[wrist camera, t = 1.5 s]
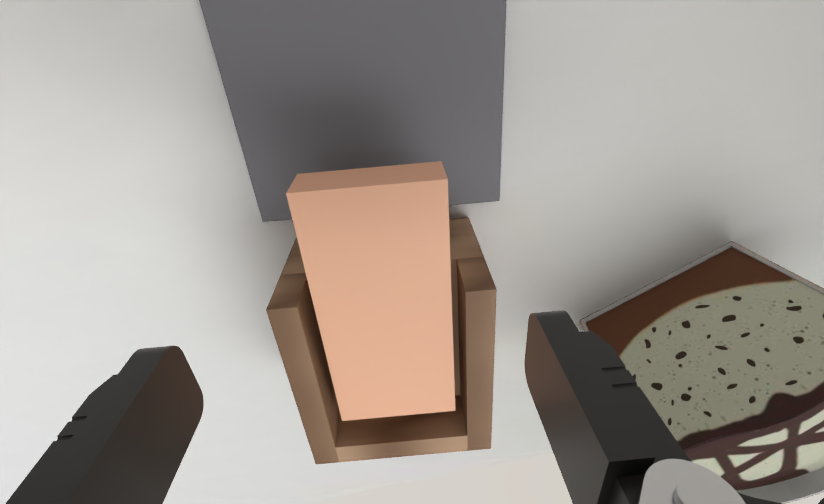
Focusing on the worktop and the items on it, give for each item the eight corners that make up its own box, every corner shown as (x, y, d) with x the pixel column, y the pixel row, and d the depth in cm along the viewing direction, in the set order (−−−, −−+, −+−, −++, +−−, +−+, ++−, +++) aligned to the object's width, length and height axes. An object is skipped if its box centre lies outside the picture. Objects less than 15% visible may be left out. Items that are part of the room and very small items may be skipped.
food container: (595, 385, 29) (684, 546, 20) (557, 331, 26) (641, 490, 17) (780, 298, 25) (981, 444, 17) (758, 227, 23) (984, 357, 14)
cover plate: (441, 161, 16) (447, 178, 14) (450, 379, 22) (455, 410, 20) (297, 173, 16) (286, 193, 14) (345, 388, 22) (342, 420, 20)
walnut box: (468, 217, 22) (496, 289, 16) (469, 356, 27) (490, 448, 21) (298, 232, 22) (266, 309, 16) (331, 369, 27) (315, 464, 21)
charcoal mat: (508, -142, 15) (511, -146, 14) (497, 197, 21) (499, 200, 21) (171, -113, 15) (166, -116, 14) (265, 218, 21) (262, 221, 21)
